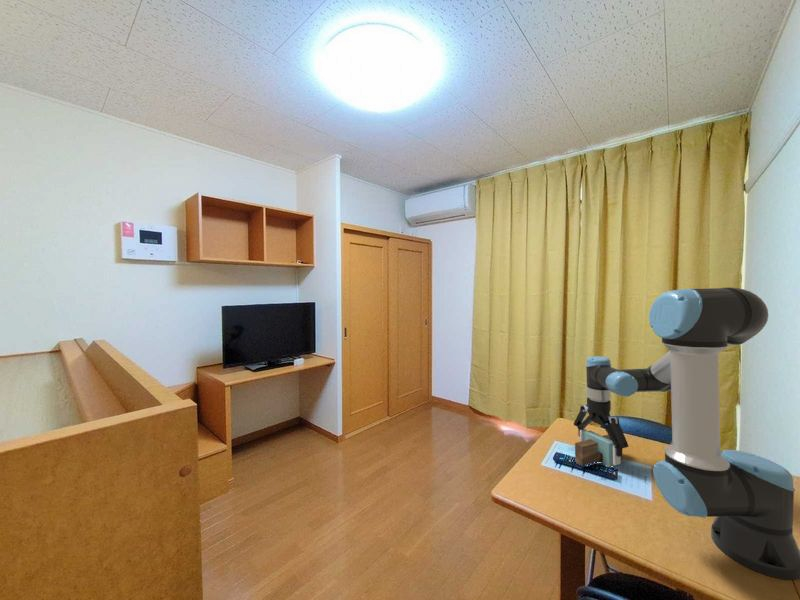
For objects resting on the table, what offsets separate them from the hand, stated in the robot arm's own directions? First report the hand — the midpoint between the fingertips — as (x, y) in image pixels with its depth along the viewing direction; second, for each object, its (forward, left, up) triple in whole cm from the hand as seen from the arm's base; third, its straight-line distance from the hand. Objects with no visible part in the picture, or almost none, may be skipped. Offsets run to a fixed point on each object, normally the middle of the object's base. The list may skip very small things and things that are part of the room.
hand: (599, 454), depth 119 cm
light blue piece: (0, 0, -2) cm, 2 cm away
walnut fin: (0, 0, -2) cm, 2 cm away
